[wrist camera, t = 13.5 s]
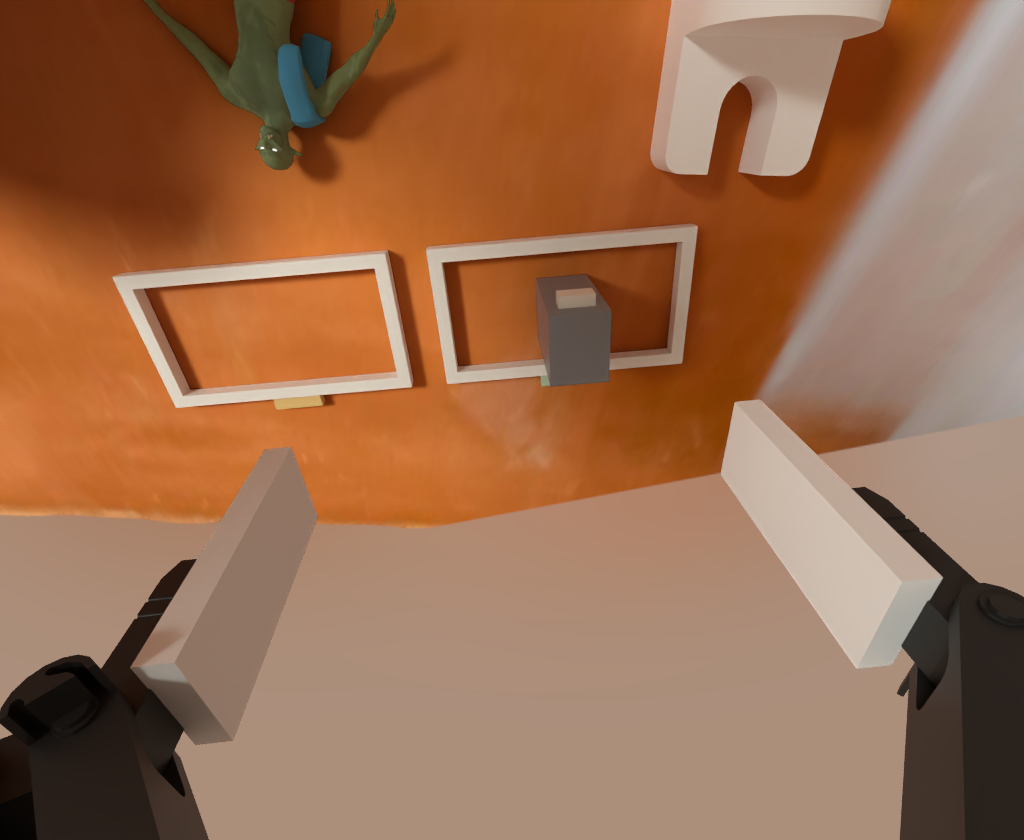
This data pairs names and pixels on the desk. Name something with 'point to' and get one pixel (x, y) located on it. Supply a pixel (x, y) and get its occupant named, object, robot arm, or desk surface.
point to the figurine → (278, 71)
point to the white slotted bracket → (752, 77)
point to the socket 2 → (554, 244)
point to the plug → (573, 330)
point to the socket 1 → (280, 392)
